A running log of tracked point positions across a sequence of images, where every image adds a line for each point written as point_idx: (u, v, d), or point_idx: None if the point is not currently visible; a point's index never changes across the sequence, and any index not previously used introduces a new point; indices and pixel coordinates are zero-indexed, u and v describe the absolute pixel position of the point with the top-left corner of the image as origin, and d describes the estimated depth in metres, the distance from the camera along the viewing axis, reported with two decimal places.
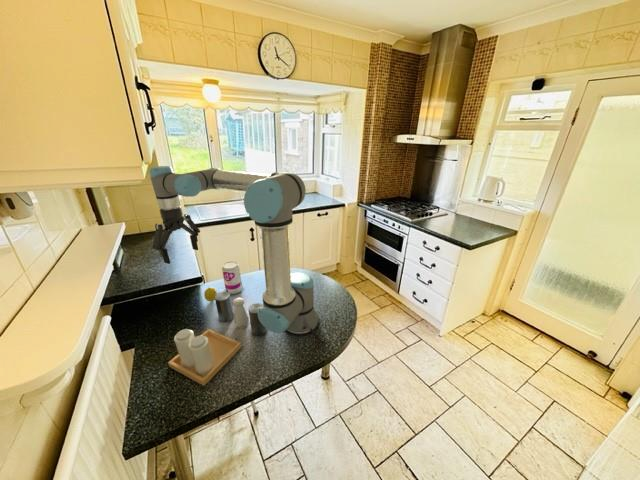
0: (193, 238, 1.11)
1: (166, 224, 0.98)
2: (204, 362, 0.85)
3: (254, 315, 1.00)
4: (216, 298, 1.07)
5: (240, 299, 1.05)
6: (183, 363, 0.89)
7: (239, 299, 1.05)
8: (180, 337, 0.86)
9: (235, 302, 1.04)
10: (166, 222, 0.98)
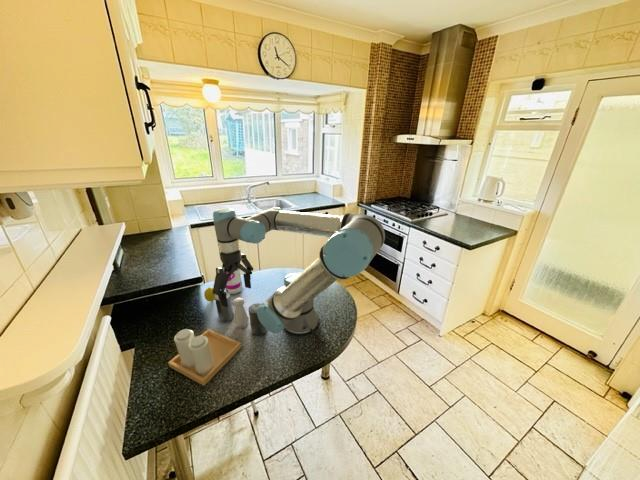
0: (247, 277, 1.07)
1: (226, 267, 0.94)
2: (204, 362, 0.85)
3: (254, 315, 1.00)
4: (216, 298, 1.07)
5: (240, 299, 1.05)
6: (183, 363, 0.89)
7: (239, 299, 1.05)
8: (180, 337, 0.86)
9: (235, 302, 1.04)
10: (226, 265, 0.94)
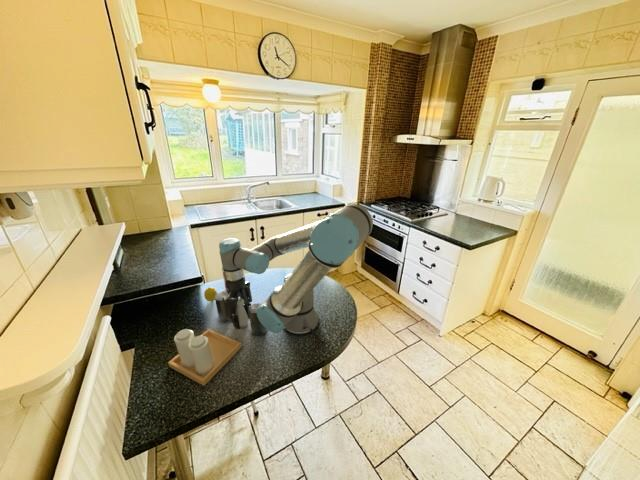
0: (246, 308, 1.10)
1: (231, 294, 0.99)
2: (204, 362, 0.85)
3: (254, 315, 1.00)
4: (216, 298, 1.07)
5: (240, 299, 1.05)
6: (183, 363, 0.89)
7: (239, 299, 1.05)
8: (180, 337, 0.86)
9: None
10: (231, 293, 0.99)
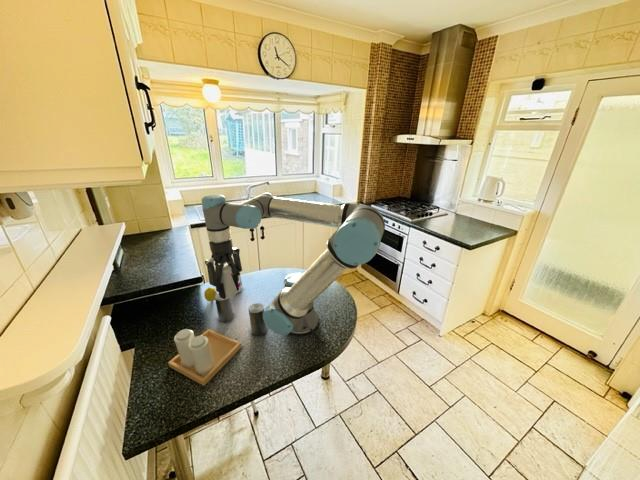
0: (234, 278, 0.99)
1: (215, 258, 0.89)
2: (204, 362, 0.85)
3: (254, 315, 1.00)
4: (216, 298, 1.07)
5: (227, 266, 0.95)
6: (183, 363, 0.89)
7: (226, 266, 0.95)
8: (180, 337, 0.86)
9: None
10: (215, 257, 0.89)
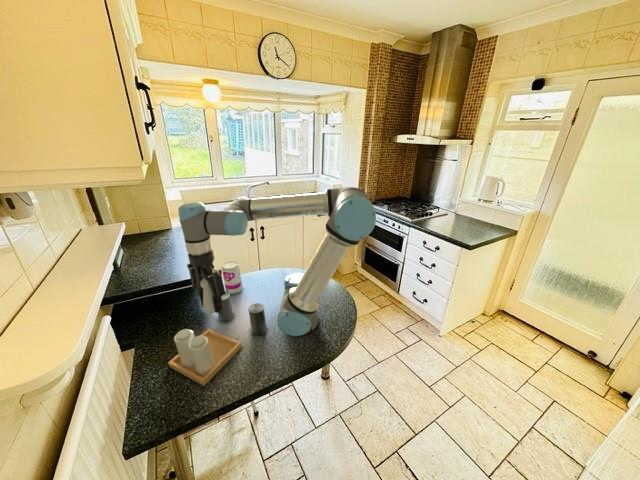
0: None
1: (192, 264, 0.86)
2: (204, 362, 0.85)
3: (254, 315, 1.00)
4: None
5: (206, 281, 0.87)
6: (183, 363, 0.89)
7: None
8: (180, 337, 0.86)
9: (203, 279, 0.88)
10: None
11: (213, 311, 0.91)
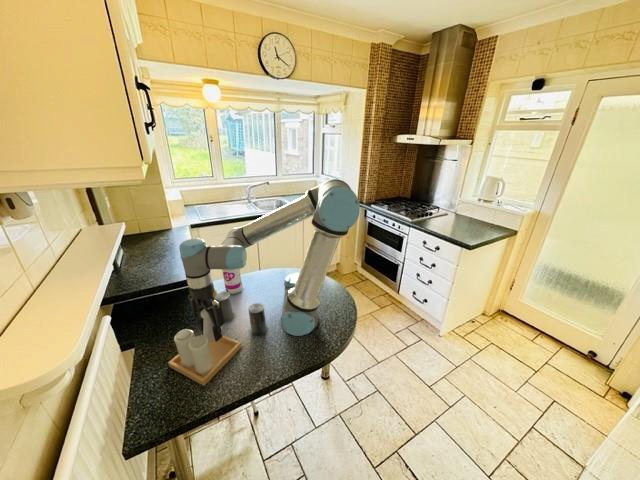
0: None
1: None
2: (204, 362, 0.85)
3: (254, 315, 1.00)
4: (216, 298, 1.07)
5: None
6: (183, 363, 0.89)
7: None
8: (180, 337, 0.86)
9: (203, 309, 0.91)
10: None
11: (213, 340, 0.93)
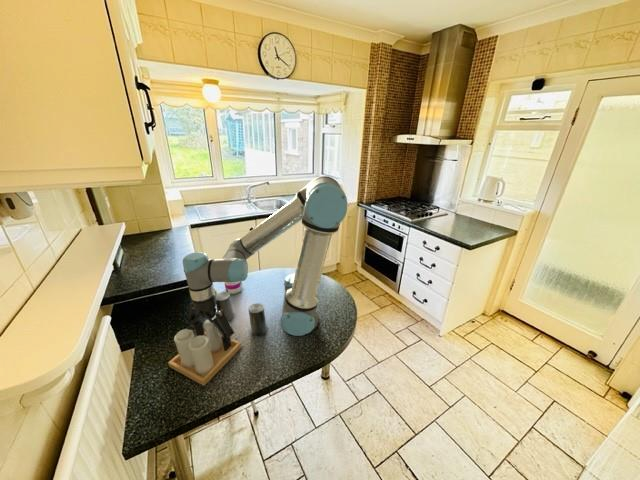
0: None
1: None
2: (204, 362, 0.85)
3: (254, 315, 1.00)
4: (216, 298, 1.07)
5: (209, 323, 0.92)
6: (183, 363, 0.89)
7: (209, 322, 0.92)
8: (180, 337, 0.86)
9: (206, 320, 0.93)
10: None
11: (215, 350, 0.95)
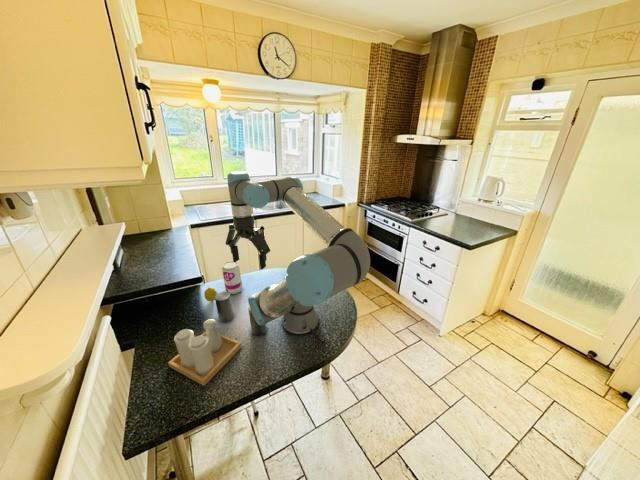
0: None
1: (235, 227, 0.98)
2: (204, 362, 0.85)
3: None
4: (216, 298, 1.07)
5: (209, 323, 0.92)
6: (183, 363, 0.89)
7: (209, 322, 0.92)
8: (180, 337, 0.86)
9: (206, 320, 0.93)
10: (235, 226, 0.98)
11: (215, 350, 0.95)
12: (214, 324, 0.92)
